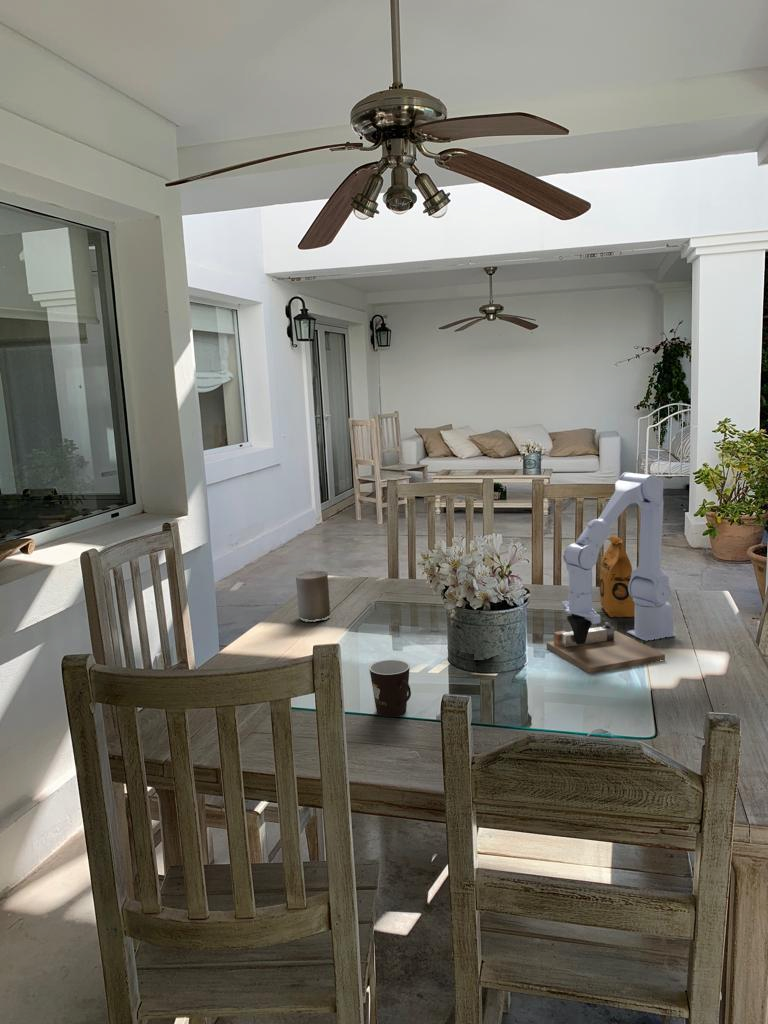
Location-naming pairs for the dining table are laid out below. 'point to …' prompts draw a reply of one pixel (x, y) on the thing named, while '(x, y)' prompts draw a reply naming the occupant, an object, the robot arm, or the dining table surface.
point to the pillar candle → (313, 595)
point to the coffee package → (616, 581)
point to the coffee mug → (390, 687)
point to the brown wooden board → (606, 653)
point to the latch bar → (590, 635)
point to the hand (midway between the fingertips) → (580, 643)
